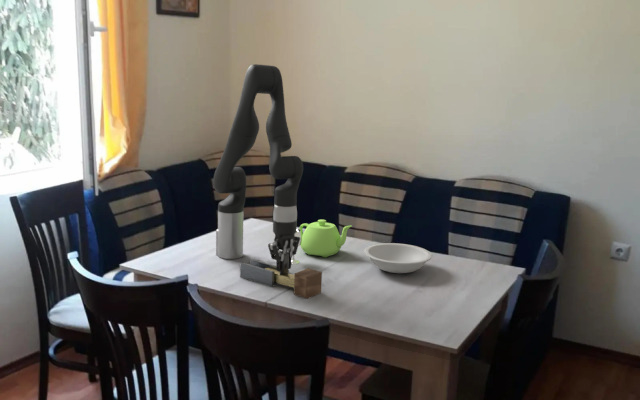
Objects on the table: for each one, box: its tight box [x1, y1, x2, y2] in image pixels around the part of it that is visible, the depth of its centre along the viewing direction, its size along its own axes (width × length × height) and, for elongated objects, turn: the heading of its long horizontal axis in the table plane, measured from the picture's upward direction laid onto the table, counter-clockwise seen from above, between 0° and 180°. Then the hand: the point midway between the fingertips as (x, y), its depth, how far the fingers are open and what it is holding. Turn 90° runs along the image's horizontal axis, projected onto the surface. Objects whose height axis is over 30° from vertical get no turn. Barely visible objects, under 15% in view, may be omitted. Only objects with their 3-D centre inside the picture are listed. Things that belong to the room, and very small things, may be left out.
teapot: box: [298, 219, 352, 258], centre depth 244 cm, size 22×15×13 cm
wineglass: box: [291, 228, 302, 265], centre depth 232 cm, size 6×6×12 cm
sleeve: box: [239, 258, 280, 288], centre depth 213 cm, size 14×6×5 cm, turn 54°
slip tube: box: [265, 252, 295, 289], centre depth 207 cm, size 16×3×10 cm, turn 54°
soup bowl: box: [364, 242, 433, 274], centre depth 228 cm, size 24×24×7 cm
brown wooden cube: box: [293, 267, 323, 300], centre depth 202 cm, size 6×7×7 cm
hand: (283, 269), depth 207 cm, fingers closed on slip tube, 3 cm apart
